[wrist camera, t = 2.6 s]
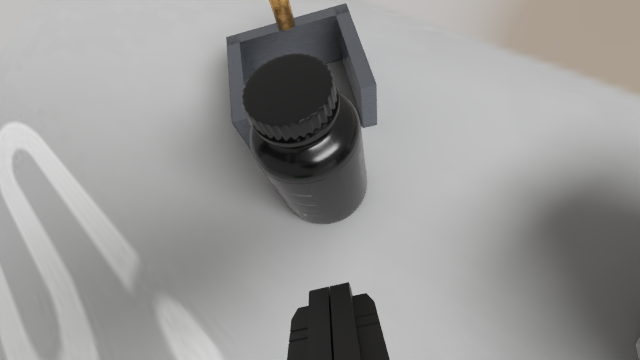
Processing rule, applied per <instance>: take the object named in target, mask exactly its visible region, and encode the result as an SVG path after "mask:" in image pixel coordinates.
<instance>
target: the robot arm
mask: <svg viewBox="0 0 640 360" xmlns="http://www.w3.org/2000/svg"><path fill="white" fill-rule="evenodd" d="M290 332H291V333H290V339H289V342H290V343H289V348H288V357H287V360H389V356H388V352H387V348H386V345H385V341H384V337H383V333H382V330H381V326H380V322H379V318H378V314H377V311H376V307H375V303H374V301H373V300H372V299H371V298H370V297H369V296H368V295H367V294H366V293H365V294H360V295H356V296H353V295H352V291H351V288H350V284H349V282H348V283H343V284H339V285H334V286H330V288H329V287H325V288H321V289H316V290H312V291H310V292H309V306H306V307H301V308H298V309H297V311H296V313H295V315H294V316H293V318H292V321H291V330H290Z"/></svg>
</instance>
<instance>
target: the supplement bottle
mask: <svg viewBox="0 0 640 360" xmlns="http://www.w3.org/2000/svg"><path fill="white" fill-rule="evenodd" d="M242 99H243V107H244V108H245V112H246V114H247V116H248V117H249V119H250V120H251V123H252V125H251V130H250V147H251V151H252V154H253V156H254V158H255V160H256V161H257V163H258V165H259V166H260V168H261V169H262V170H263V172H264V173H265V174H266V176H267V177H268V178H269V180H270V181H271V182H272V184H273V185H274V186H275V188H276V189H277V191H278V192H279V193H280V195H281V196H282V197H283V199H284V200H285V201H286V203H287V204H288V205H289V207H290V208H291V209H292V210H293V211H294V212H295V213H296V214H297V215H298V216H299V217H301V218H302V219H304V220H306V221H309V222H312V223H316V224H330V223H335V222H338V221H341V220H343V219H345V218H347V217H348V216H350V215H351V214H352V213H353V212H354V211H355V210H356V209H357V208H358V207H359V205H360V204H361V202H362V201H363V199H364V196H365V193H366V188H367V176H366V167H365V159H364V150H363V142H362V134H361V126H360V120H359V116H358V113H357V111H356V109H355V107H354V105H353V104H352V102H351V101H350V100H349V99H348V98H347V97H346V96H345V95H344V94H342V93H341V92H340V91H338V90H337V88H336V86H335V81H334V79H333V75H332V72H331V71H330V70H329V67H328V65H326V64H324V62H323V61H322V60H319V59H318V58H317V57H314V56H311V55H309V54H302V53H298V54H295V53H292V54H289V55H288V54H284V55H282V56H279V57H275V58H274V59H272V60H268V61H267V62H266V63H264V64H262V65H261V66H260V67H259V68H258V69H256V70H255V71H254V73H253V74H252V75H251V76H249V80H248V81H247V82H246V83H245V87H244V89H243V95H242Z"/></svg>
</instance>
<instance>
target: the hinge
mask: <svg viewBox="0 0 640 360" xmlns="http://www.w3.org/2000/svg"><path fill="white" fill-rule="evenodd" d="M635 345H636V351H637V355H638V358H639V360H640V338H639V339H638V341H637V343H636V344H635Z"/></svg>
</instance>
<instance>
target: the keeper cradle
mask: <svg viewBox="0 0 640 360" xmlns="http://www.w3.org/2000/svg"><path fill="white" fill-rule="evenodd" d="M269 2H270V5H271V8H272V11H273V14H274V17H275V20H276V23H275V24H271V25H268V26H264V27H261V28H257V29H254V30H250V31H247V32H243V33H240V34H236V35H232V36H229V37H226V39H227V54H228V69H229V84H230V99H231V114H232V123H233V125H234V126H235V128H236V129H237V131H238V132H239V133H240V135H241V136H242V138H243V139H244V141H245V142H246V144H247V145H248V147H249V148H250V150H251V147H250V130H251V125H252V123H251V120H250V119H249V117H248V116H247V114H246V112H245V108H244V107H243V99H242V95H243V89H244V87H245V83H246V82H247V81H248V80H249V76H251V75H252V74H253V73H254V71H255V70H256V69H258V68H259V67H260V66H261V65H262V64H264V63H266V62H267V61H268V60H272V59H274V58H275V57H279V56H282V55H284V54H288V55H289V54H292V53H295V54H298V53H302V54H309V55H311V56H314V57H317V58H318V59H319V60H322V61H323V62H324V64H326V63H329V62H333V61H337V60H340V59H342V61H343V64H344V67H345V70H346V73H347V76H348V80H349V83H350V86H351V89H352V92H353V95H354V98H355V102H356V105H357V108H358V111H359V114H360V117H361V120H362V124H363V127H368V126H372V125H376V124H377V98H376V82H375V80H374V77H373V74H372V71H371V69H370V66H369V63H368V61H367V58H366V55H365V53H364V50H363V47H362V45H361V42H360V39H359V37H358V34H357V31H356V29H355V26H354V23H353V21H352V18H351V15H350V12H349V10H348V7H347V4H346V3H345V4H342V5H338V6H335V7H331V8H328V9H324V10H321V11H317V12H313V13H310V14H306V15H303V16H299V17H296V18H294V17H293V14H292V10H291V6H290V2H289V0H269Z"/></svg>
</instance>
